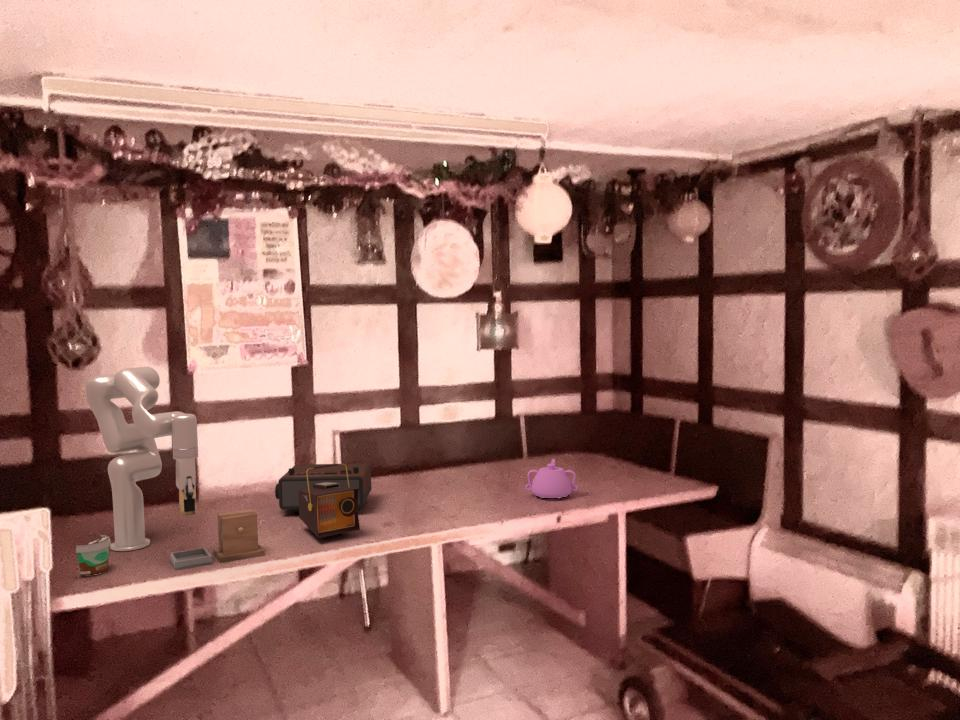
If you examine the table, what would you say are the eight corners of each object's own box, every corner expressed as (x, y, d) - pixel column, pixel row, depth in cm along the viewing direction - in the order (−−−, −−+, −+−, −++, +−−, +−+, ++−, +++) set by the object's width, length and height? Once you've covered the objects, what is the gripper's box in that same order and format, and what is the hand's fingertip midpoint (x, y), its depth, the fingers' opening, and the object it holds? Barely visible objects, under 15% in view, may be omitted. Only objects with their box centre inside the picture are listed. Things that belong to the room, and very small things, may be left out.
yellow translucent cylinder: (178, 512, 248) (177, 488, 248) (195, 510, 251) (194, 486, 250) (181, 516, 244) (180, 491, 243) (197, 513, 246) (196, 489, 246)
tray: (170, 560, 250) (169, 552, 250) (205, 554, 256) (205, 547, 256) (175, 570, 241) (174, 562, 241) (212, 563, 246) (211, 556, 246)
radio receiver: (273, 518, 300) (271, 472, 299) (288, 500, 327) (287, 458, 326) (363, 515, 301) (362, 469, 300) (372, 498, 328) (370, 456, 327)
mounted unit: (213, 552, 258) (211, 512, 257) (255, 545, 264) (254, 506, 263) (220, 562, 247) (218, 521, 246) (264, 555, 254) (263, 514, 253)
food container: (95, 579, 234) (93, 546, 234) (77, 578, 235) (75, 546, 235) (121, 565, 246) (119, 534, 246) (103, 565, 247) (102, 534, 247)
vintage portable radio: (319, 546, 262) (316, 473, 261) (292, 531, 281) (289, 463, 280) (362, 537, 272) (360, 466, 270) (333, 523, 291) (331, 457, 289)
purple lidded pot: (578, 489, 336) (578, 458, 335) (577, 502, 315) (577, 468, 314) (528, 488, 339) (527, 457, 338) (523, 501, 318) (523, 467, 317)
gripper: (169, 450, 252) (171, 505, 253) (177, 458, 237) (179, 517, 238) (193, 447, 255) (195, 502, 256) (202, 455, 240) (205, 513, 242)
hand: (188, 508), depth 247 cm, fingers closed on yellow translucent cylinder, 5 cm apart
